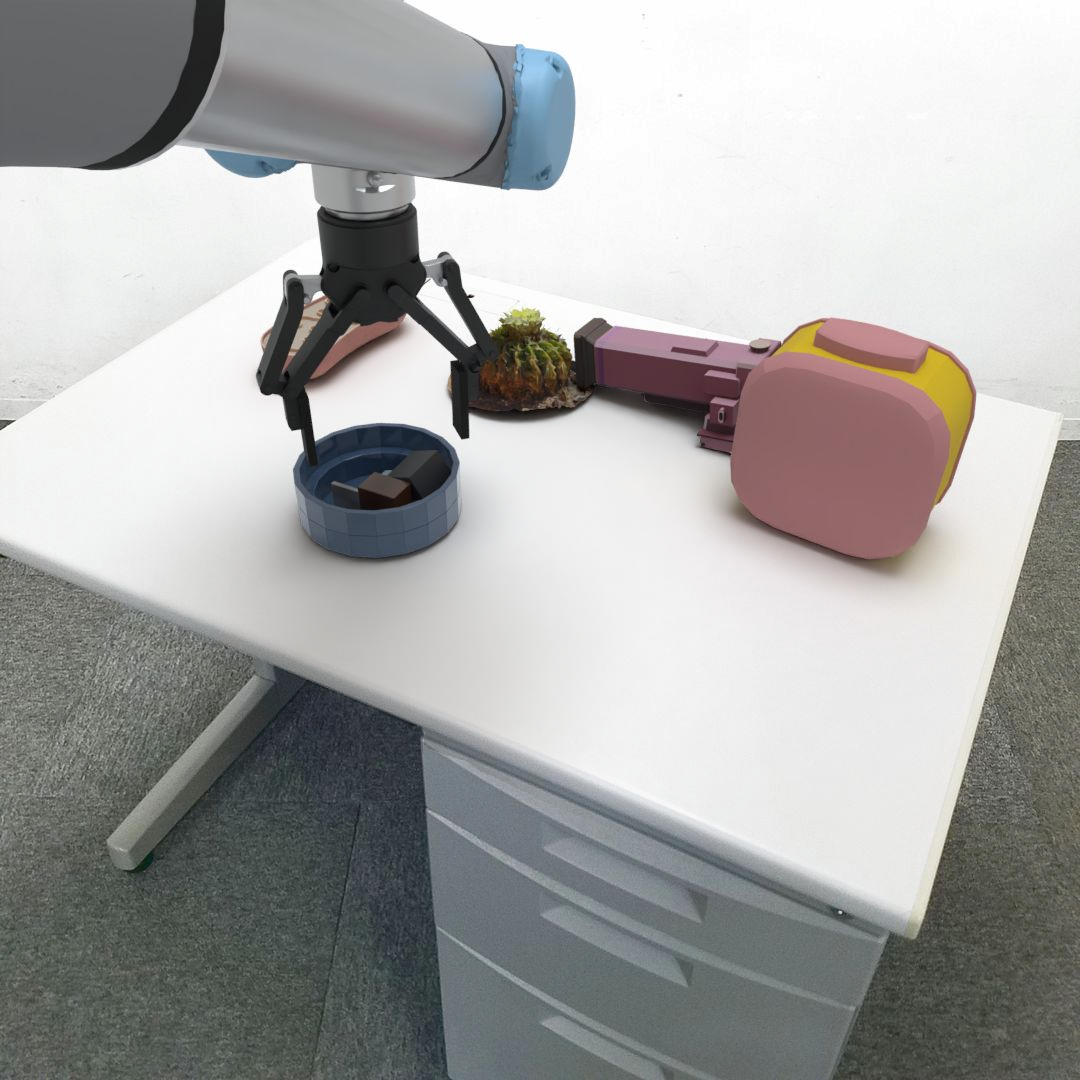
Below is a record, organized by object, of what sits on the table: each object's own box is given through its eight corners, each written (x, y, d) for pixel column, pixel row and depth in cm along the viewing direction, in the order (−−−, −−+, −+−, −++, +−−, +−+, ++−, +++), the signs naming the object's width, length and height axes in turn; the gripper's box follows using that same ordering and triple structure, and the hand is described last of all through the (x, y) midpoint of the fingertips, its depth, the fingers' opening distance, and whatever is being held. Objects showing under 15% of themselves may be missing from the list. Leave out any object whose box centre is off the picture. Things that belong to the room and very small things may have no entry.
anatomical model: (311, 401, 109) (305, 362, 106) (245, 380, 113) (238, 341, 110) (426, 325, 125) (424, 289, 122) (365, 309, 129) (361, 273, 126)
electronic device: (608, 381, 118) (604, 303, 112) (828, 420, 105) (836, 334, 100) (564, 420, 110) (557, 338, 105) (795, 467, 98) (802, 376, 92)
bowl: (378, 585, 84) (372, 535, 81) (268, 518, 92) (258, 470, 88) (493, 507, 94) (492, 460, 90) (384, 452, 101) (380, 406, 98)
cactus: (574, 349, 120) (577, 275, 114) (611, 413, 108) (617, 333, 102) (437, 362, 117) (433, 286, 111) (460, 430, 105) (456, 348, 99)
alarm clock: (939, 525, 93) (1002, 341, 81) (904, 586, 85) (967, 394, 73) (761, 463, 101) (794, 287, 89) (715, 514, 93) (744, 331, 81)
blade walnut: (413, 519, 91) (410, 482, 88) (397, 535, 89) (394, 498, 86) (344, 496, 94) (339, 460, 91) (326, 511, 92) (321, 475, 89)
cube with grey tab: (424, 501, 89) (452, 473, 91) (408, 477, 88) (437, 449, 90) (377, 499, 95) (404, 473, 97) (361, 477, 94) (390, 451, 96)
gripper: (199, 238, 66) (250, 493, 79) (538, 203, 74) (533, 441, 86) (190, 204, 72) (238, 447, 85) (505, 175, 79) (506, 402, 92)
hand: (387, 445), depth 85 cm, fingers open, 13 cm apart
